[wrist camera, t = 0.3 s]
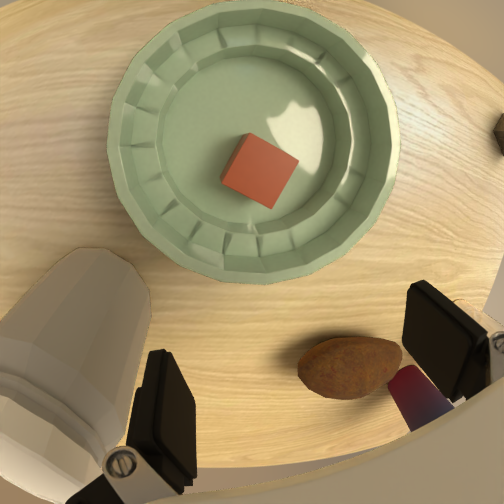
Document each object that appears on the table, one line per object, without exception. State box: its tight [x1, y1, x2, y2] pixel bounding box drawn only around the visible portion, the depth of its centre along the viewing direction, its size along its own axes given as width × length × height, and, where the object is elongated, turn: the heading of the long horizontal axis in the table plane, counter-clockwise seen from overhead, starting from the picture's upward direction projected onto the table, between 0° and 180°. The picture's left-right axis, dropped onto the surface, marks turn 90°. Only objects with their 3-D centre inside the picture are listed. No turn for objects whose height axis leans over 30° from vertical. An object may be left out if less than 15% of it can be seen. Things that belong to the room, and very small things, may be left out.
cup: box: [388, 365, 454, 432], centre depth 27 cm, size 7×7×15 cm
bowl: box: [106, 0, 401, 285], centre depth 18 cm, size 18×18×6 cm
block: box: [220, 133, 299, 209], centre depth 19 cm, size 4×4×4 cm
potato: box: [298, 337, 402, 400], centre depth 26 cm, size 7×12×7 cm, turn 91°
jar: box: [0, 248, 152, 504], centre depth 15 cm, size 10×10×18 cm
